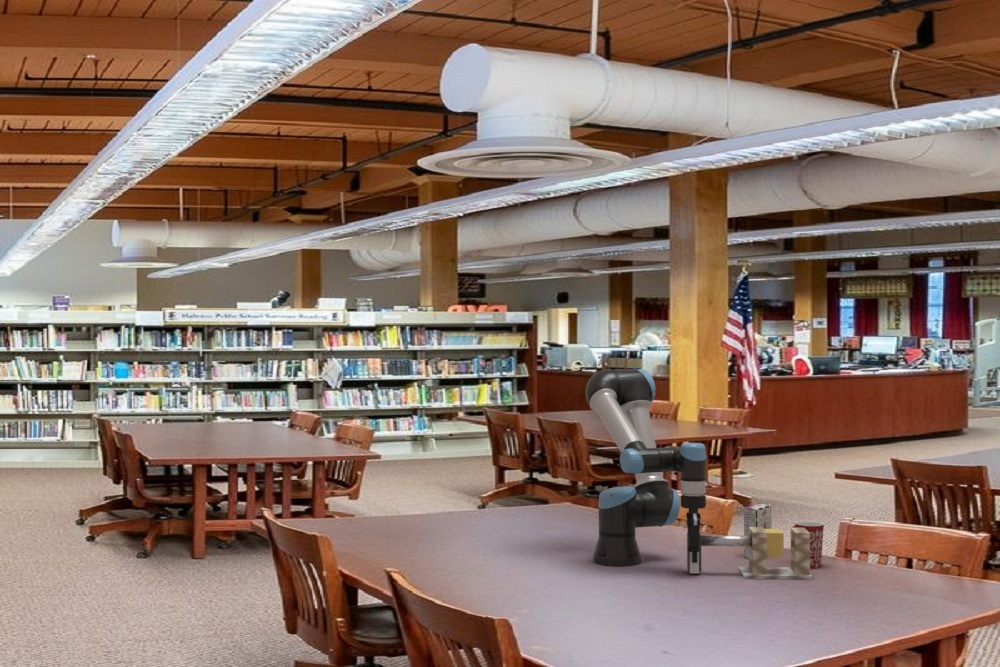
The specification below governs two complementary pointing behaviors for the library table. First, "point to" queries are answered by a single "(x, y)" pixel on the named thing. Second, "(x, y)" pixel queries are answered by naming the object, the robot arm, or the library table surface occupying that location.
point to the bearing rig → (761, 571)
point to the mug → (813, 540)
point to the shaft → (717, 543)
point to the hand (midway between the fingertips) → (693, 571)
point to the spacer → (775, 543)
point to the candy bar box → (756, 519)
